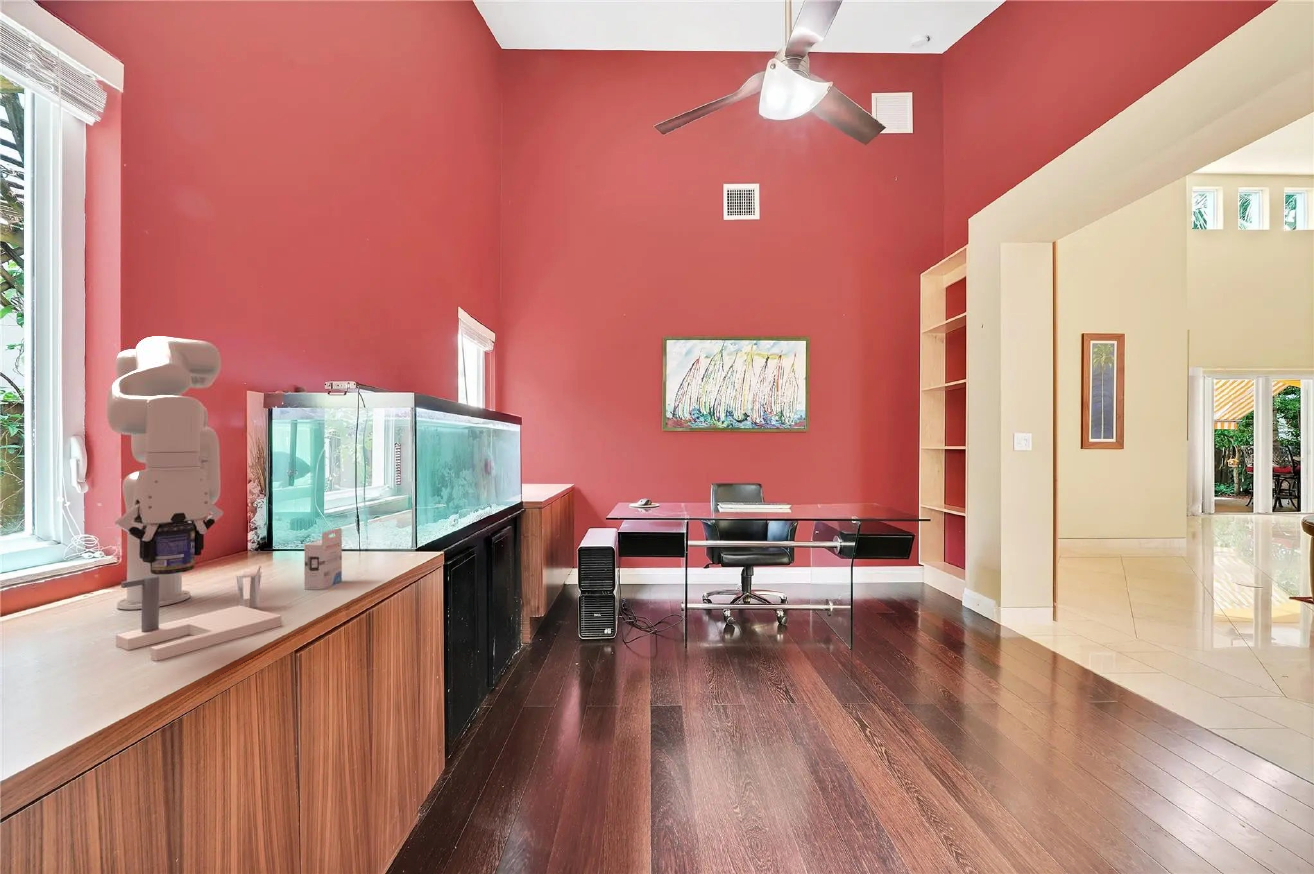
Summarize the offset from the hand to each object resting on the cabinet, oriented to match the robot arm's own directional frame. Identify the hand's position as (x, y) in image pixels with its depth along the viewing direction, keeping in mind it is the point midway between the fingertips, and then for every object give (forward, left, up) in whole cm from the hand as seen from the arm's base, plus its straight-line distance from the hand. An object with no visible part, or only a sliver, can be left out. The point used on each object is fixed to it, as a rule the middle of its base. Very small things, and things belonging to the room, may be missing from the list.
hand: (172, 557), depth 99 cm
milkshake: (-11, +18, -17) cm, 27 cm away
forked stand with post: (-1, +5, -16) cm, 17 cm away
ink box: (-17, +38, -17) cm, 45 cm away
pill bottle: (0, 0, -3) cm, 3 cm away
